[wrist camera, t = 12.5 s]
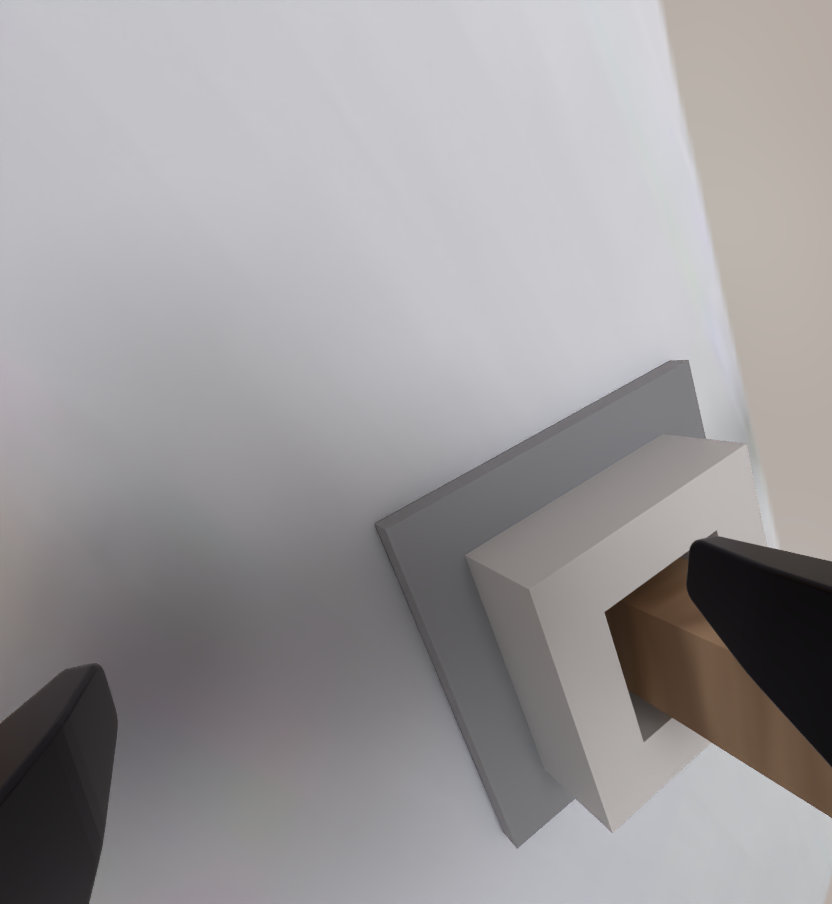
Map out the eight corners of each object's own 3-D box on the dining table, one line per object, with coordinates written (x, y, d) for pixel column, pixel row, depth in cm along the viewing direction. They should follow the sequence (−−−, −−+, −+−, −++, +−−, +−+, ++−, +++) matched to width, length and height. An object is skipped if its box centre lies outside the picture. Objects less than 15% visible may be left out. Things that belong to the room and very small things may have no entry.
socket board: (503, 832, 27) (580, 925, 22) (374, 523, 22) (439, 562, 17) (734, 638, 32) (832, 681, 28) (670, 360, 28) (775, 358, 23)
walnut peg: (576, 657, 26) (944, 888, 14) (562, 574, 25) (944, 748, 13) (642, 620, 27) (1022, 802, 16) (631, 541, 27) (1027, 672, 15)
